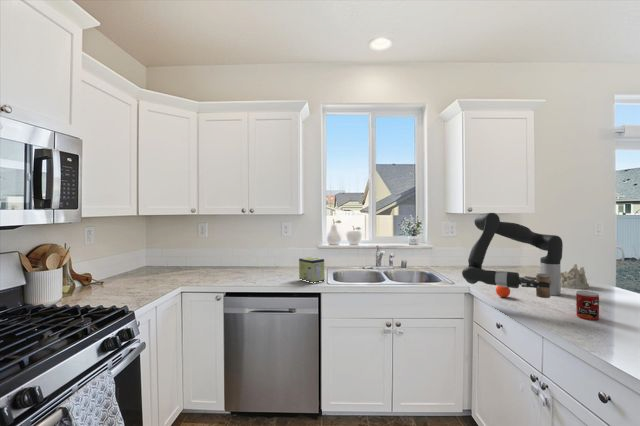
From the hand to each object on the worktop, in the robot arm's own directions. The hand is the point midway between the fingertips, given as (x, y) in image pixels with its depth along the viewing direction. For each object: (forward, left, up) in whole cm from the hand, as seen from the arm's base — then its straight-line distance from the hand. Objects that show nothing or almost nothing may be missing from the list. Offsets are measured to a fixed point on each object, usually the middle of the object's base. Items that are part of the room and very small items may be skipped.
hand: (549, 284), depth 143 cm
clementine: (-28, +11, -14) cm, 34 cm away
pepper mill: (-2, -1, -6) cm, 7 cm away
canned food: (+10, +11, -14) cm, 20 cm away
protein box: (-117, -63, -14) cm, 134 cm away
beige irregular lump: (-24, +71, -15) cm, 76 cm away
